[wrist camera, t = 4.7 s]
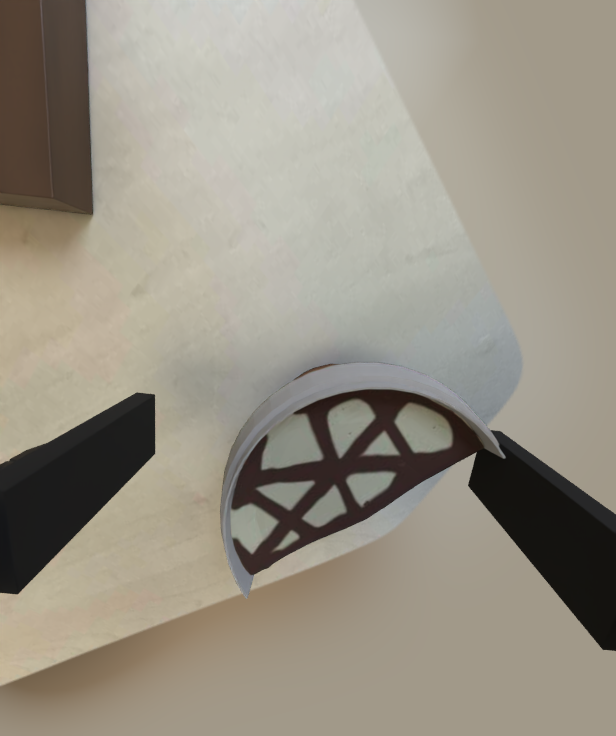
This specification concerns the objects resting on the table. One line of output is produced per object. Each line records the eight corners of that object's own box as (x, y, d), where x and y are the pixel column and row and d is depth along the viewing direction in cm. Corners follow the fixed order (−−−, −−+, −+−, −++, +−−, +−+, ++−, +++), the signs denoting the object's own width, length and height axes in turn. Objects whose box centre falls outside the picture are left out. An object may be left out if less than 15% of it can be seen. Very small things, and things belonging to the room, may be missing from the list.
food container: (375, 309, 20) (443, 302, 10) (418, 388, 21) (519, 450, 11) (217, 404, 21) (141, 480, 11) (265, 476, 22) (234, 605, 12)
